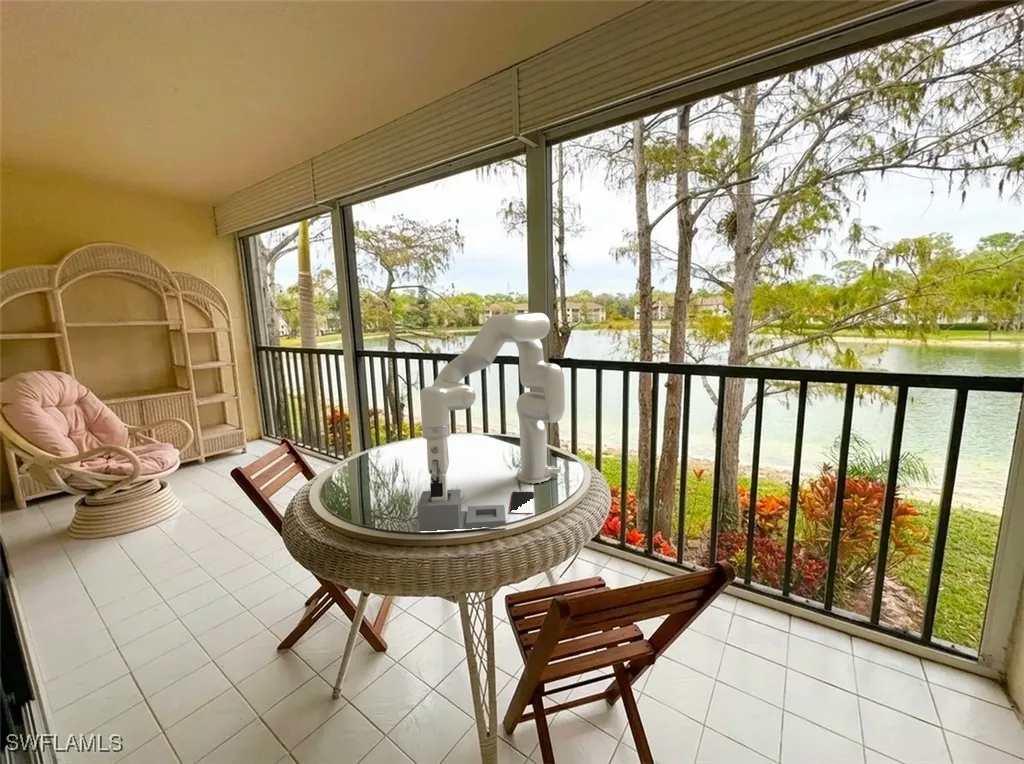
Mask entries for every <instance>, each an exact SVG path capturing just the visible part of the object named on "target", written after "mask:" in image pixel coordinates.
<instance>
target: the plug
mask: <svg viewBox="0 0 1024 764" xmlns="http://www.w3.org/2000/svg"><path fill="white" fill-rule="evenodd" d="M437 476H438V477H439V475H437ZM441 482H442V484H443V496H442V497H432V502H441V501H447V490H448V483H447V473H446V474H444V473H442V475H441Z"/></svg>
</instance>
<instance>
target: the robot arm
mask: <svg viewBox="0 0 1024 764" xmlns="http://www.w3.org/2000/svg"><path fill="white" fill-rule="evenodd" d="M550 330H551V322H550V319H549V318H548V316H547V315H546V314H545V313H543V312H513V313H508V314H494V315H490V316H489V317H488V318H487V319H486V320H485V321H484V323H483V324H482V326H481V328H480V329H479V330H478V332H477V334H476V335H475V337H474V339H473V340H472V342H471V343H470V344H469V346H468V348H467V349H465V351H463V352H462V353H460V354H458V355H457V356H456V357H454V359H452V360H451V361H449V362H448V363H447V364H446V365H445V366H444V367H443V368H442V370H441V371H440V372H439V373H438V375H437V377H436V378H435V380H434V382H433V384H432V386H426V387H423V388H422V389H421V390H420V392H419V394H420V395H419V396H420V411H421V412H420V413H421V429H422V430H421V431H422V432H421V435H422V438H423V439H425V440H426V455H427V471H428V474H429V475H430V484H429V486H430V491H431V497H442V496H443V484H442V482H441V475H442V473H444V474H446V475H447V472H448V469H449V466H450V465H449V464H450V459H449V458H450V457H449V445H448V438H449V437H450V436H451V430H450V429H451V427H450V411H462V410H467V409H469V408H471V407H472V405H473V404H475V401H476V395H477V394H476V392H475V389H474V388H473V387H472V386H470V385H468V384H466V383H462V382H461V381H462V380H463V379H464V378H465V377H467V376H469V375H470V374H473V373H475V372H480V371H481V370H484V369H486V368H488V367H490V366H491V365H492V364H493V362H494V361H495V359H496V358H497V355H498V354H499V352H500V350H501V349H502V347H503V345H504V344H505V343H514V344H515V346H516V347H517V350H518V359H519V360H518V361H519V381H520V384H521V385H522V387H524V388H527V389H530V390H537V391H544V393H543V392H536V391H527V392H523V393H521V394H520V395H519V396H518V398H517V401H516V412H517V417H518V421H519V442H520V445H519V447H520V470H519V471H518V472H516V479H517V480H518V481H519V482H521V483H524V484H529V483H532V484H531V485H536V484H535V483H539V484H542V483H541V482H544V481H547V480H549V479H550V478H551V479H552V473H553V474H560V473H561V468H560V466H559V467H556V465H548V457H547V456H548V453H547V452H548V451H547V450H548V449H547V447H548V446H547V443H548V441H547V440H548V439H547V436H548V433H547V428H546V427H547V426H546V423H553V424H554V423H558V422H560V421H561V420H562V419H563V417H564V414H565V408H566V405H565V404H566V403H565V402H566V401H565V400H566V398H565V392H566V391H565V389H566V388H565V374H564V372H563V370H562V368H561V366H560V365H558V364H556V363H553V362H552V363H551V362H545V360H544V348H543V344H542V342H541V340H543V339H544V338H546V337H547V336H548V334H549V332H550ZM437 475H439V477H438V476H437ZM551 479H550V480H551ZM550 480H549V481H550ZM547 482H548V481H547ZM544 483H545V482H544Z"/></svg>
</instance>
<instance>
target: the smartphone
mask: <svg viewBox="0 0 1024 764" xmlns="http://www.w3.org/2000/svg"><path fill="white" fill-rule="evenodd" d="M533 498H534V499H535V492H534V491H512V492H511V497H510V504H509V510H510V512H511V511H512V510H517V509H518V507H519V506H520V507H521V506H522V504H525V503H527V501H530V499H533ZM510 512H509V513H510Z"/></svg>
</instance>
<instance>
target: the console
mask: <svg viewBox="0 0 1024 764" xmlns="http://www.w3.org/2000/svg"><path fill="white" fill-rule="evenodd" d="M461 500H462V499H461V489H447V501H441V502H432V497H431V490H423V491H422V493H421V495H420V498H419V502H418V504H417V519H418V532H419V531H437V530H454V529H472V528H482V527H494V526H500V525H506V526H507V519H506V509H505V508H506V507H505V504H491V505H489V504H488V505H487V504H486V505H471V506H469V505H468V506H467V509H466V511H465V510H464V511H462V504H461V503H462V502H461Z"/></svg>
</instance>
